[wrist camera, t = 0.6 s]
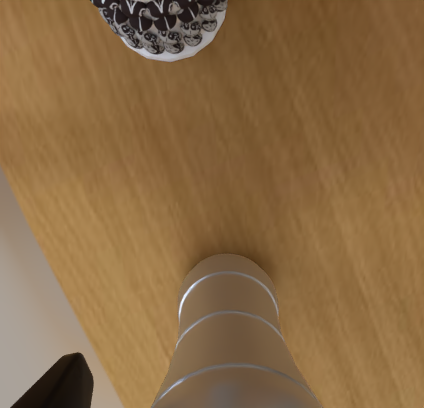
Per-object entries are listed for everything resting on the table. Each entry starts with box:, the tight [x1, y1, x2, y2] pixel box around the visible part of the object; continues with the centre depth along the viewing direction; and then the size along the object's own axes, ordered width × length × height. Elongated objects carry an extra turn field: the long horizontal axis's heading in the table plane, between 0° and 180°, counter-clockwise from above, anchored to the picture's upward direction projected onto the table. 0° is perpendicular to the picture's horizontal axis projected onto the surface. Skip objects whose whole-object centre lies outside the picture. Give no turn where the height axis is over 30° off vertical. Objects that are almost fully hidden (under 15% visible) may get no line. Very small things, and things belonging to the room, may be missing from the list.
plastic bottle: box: [151, 254, 323, 408], centre depth 14 cm, size 6×7×20 cm
